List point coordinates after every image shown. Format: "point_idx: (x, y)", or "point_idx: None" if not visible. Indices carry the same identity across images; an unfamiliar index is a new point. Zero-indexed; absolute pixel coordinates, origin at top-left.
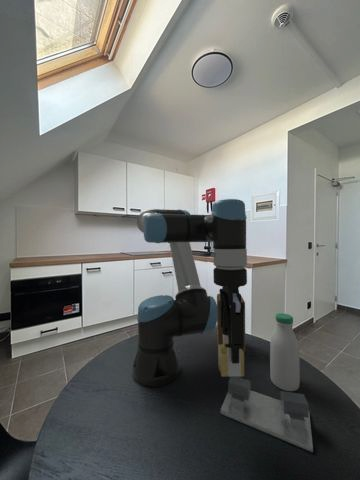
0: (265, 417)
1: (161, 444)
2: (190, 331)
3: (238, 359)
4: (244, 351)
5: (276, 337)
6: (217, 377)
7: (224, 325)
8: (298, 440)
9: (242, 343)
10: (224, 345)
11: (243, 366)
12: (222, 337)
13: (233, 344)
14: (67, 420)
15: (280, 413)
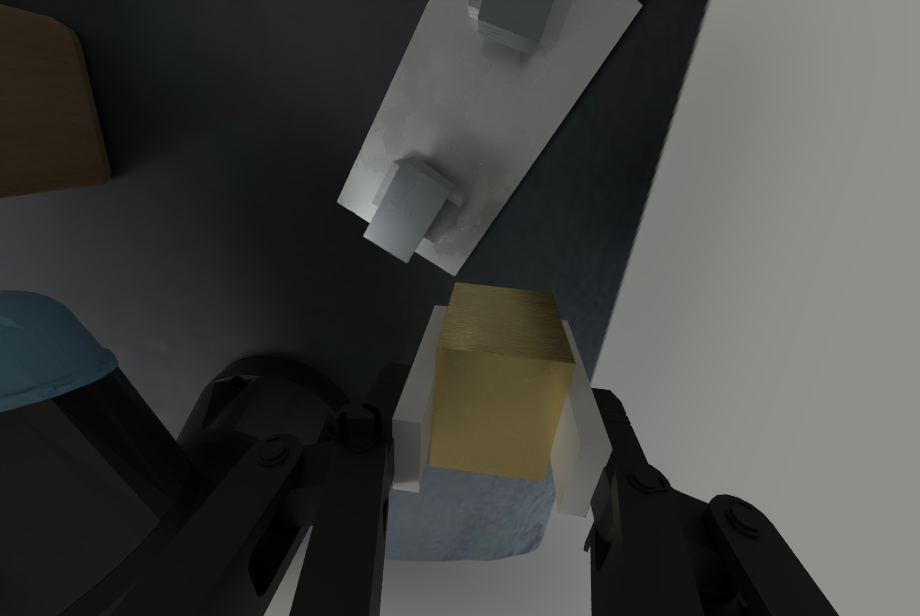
0: (499, 131)
1: None
2: (159, 445)
3: (625, 416)
4: (64, 28)
5: None
6: (293, 236)
7: (381, 583)
8: (604, 49)
9: (794, 573)
10: (444, 438)
11: (559, 321)
12: (20, 173)
13: (746, 609)
14: (448, 545)
15: (490, 53)
